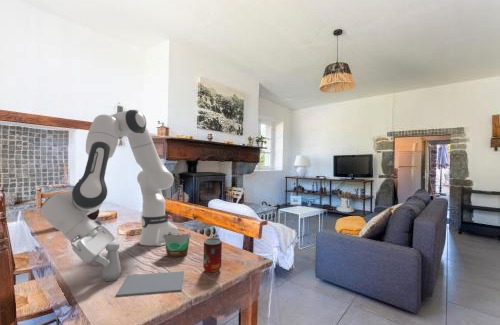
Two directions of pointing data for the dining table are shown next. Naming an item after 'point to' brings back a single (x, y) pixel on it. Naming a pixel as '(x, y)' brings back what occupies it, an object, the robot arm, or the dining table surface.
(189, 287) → the dining table surface
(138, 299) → the dining table surface
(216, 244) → the soda can
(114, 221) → the dining table surface
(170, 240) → the food container
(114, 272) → the salt shaker
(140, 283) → the mat
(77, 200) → the robot arm
